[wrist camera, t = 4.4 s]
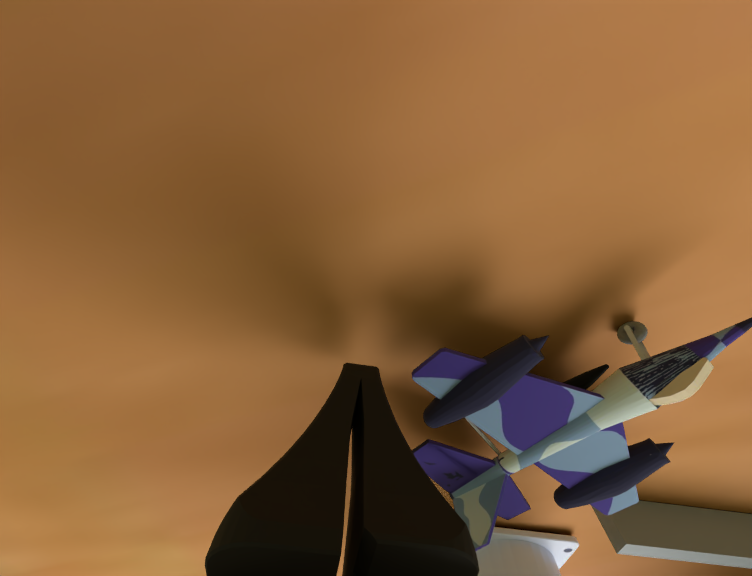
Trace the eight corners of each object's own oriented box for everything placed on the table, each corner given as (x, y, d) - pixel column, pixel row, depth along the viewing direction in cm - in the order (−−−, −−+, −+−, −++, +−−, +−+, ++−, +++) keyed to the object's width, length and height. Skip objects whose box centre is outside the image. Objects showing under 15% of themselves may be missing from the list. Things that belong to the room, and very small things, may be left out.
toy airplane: (767, 233, 12) (901, 276, 9) (632, 469, 19) (683, 542, 16) (412, 233, 13) (421, 274, 9) (401, 465, 19) (404, 535, 16)
